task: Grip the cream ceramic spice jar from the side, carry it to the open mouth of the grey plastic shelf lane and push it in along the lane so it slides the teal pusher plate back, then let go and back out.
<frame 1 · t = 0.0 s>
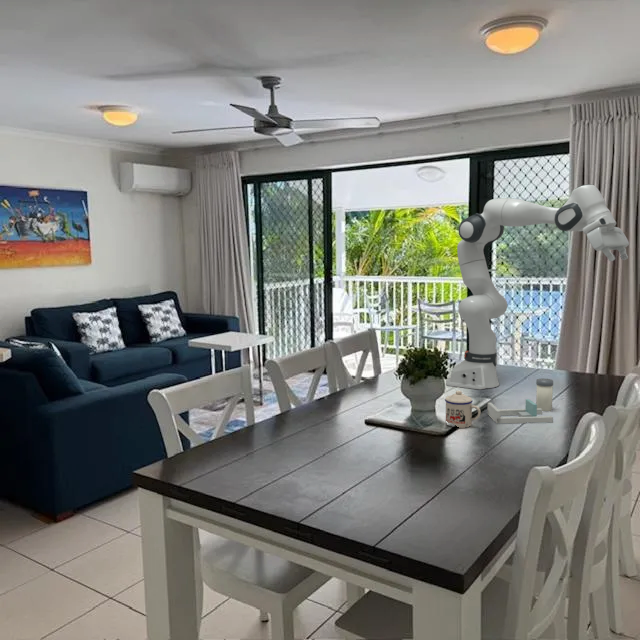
hand: (619, 259, 211), 54 cm above the table, tool tilted 30°, fingers open, 8 cm apart
pusher: (526, 409, 212), point 3 cm above the table, slide at 0.0 cm
lane: (521, 418, 212), on the table
teacup with lid: (462, 425, 206), on the table
jar: (544, 409, 222), on the table
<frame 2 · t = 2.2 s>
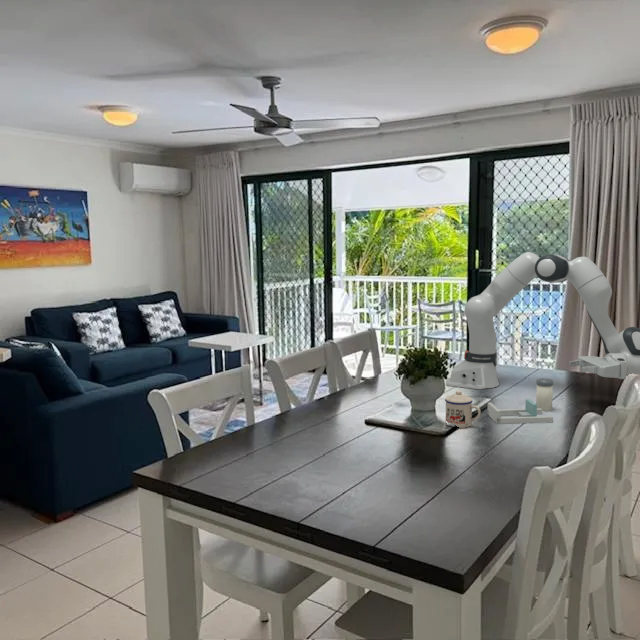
hand: (575, 366, 220), 16 cm above the table, tool horizontal, fingers open, 8 cm apart
nothing on the table moved.
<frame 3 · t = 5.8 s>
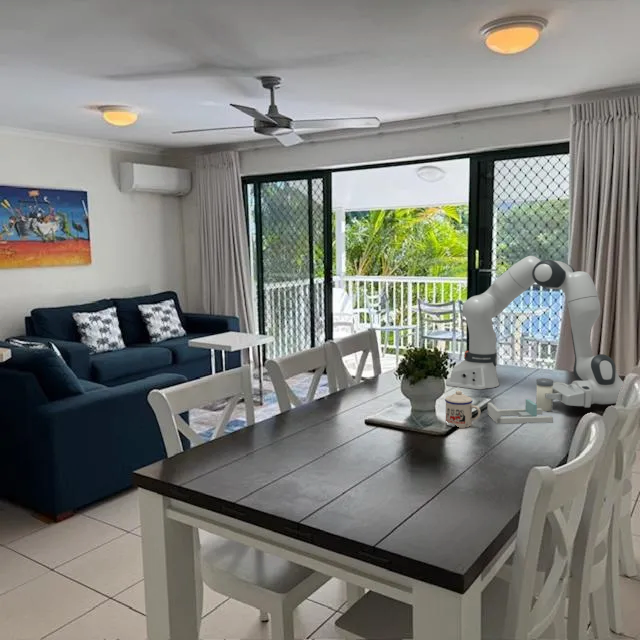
hand: (542, 393, 221), 6 cm above the table, tool horizontal, fingers closed on jar, 5 cm apart
jar: (544, 409, 222), on the table, touching gripper
everything else where it was.
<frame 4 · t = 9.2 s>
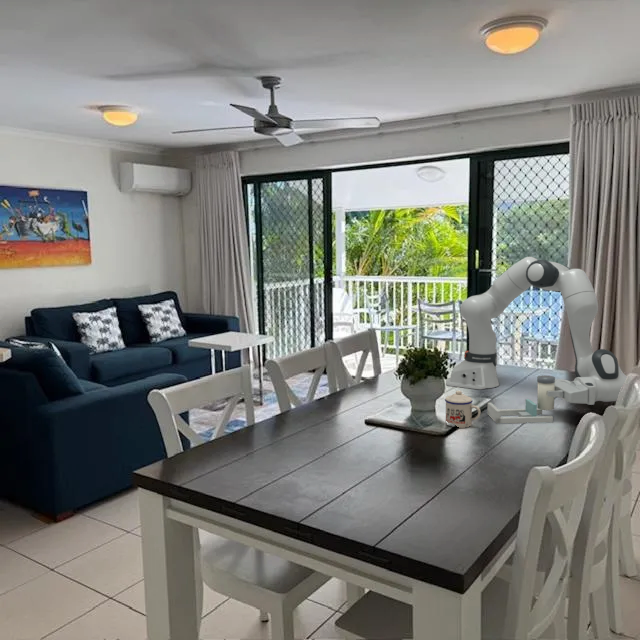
hand: (543, 391, 211), 10 cm above the table, tool horizontal, fingers closed on jar, 5 cm apart
jar: (545, 408, 211), point 4 cm above the table, touching gripper
everything else where it was.
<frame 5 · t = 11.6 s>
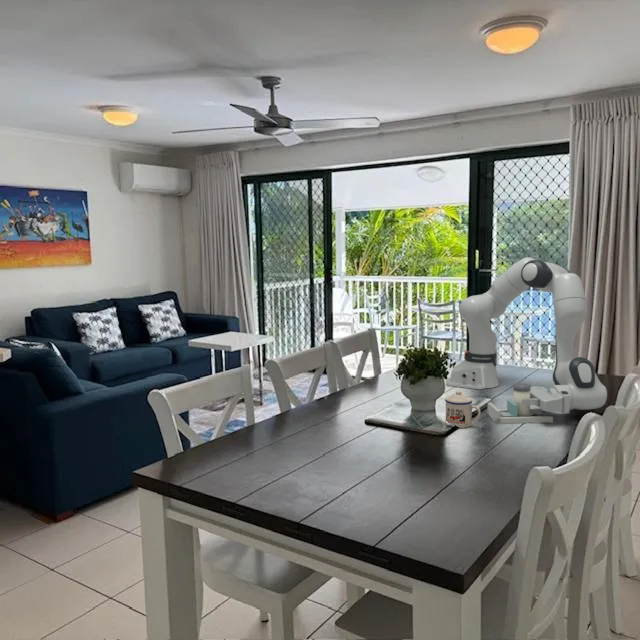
hand: (519, 398, 211), 7 cm above the table, tool horizontal, fingers closed on jar, 5 cm apart
pusher: (507, 410, 211), point 3 cm above the table, slide at 6.6 cm, touching jar
jar: (521, 415, 212), point 1 cm above the table, touching gripper, pusher
everything else where it was.
when the fingers open (7 cm above the table, at t = 12.6 s): jar stays where it is, resting in lane.
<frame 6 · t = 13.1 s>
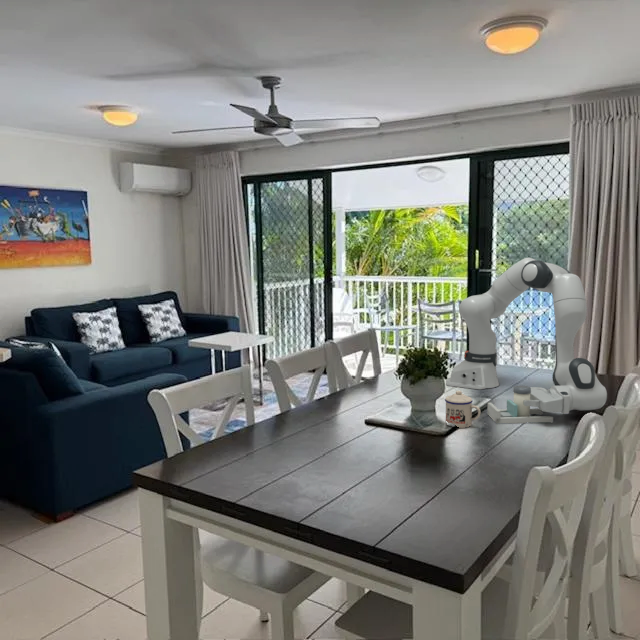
hand: (519, 399, 211), 7 cm above the table, tool horizontal, fingers open, 8 cm apart
pusher: (507, 410, 211), point 3 cm above the table, slide at 6.7 cm
jar: (521, 418, 212), resting in lane
everything else where it was.
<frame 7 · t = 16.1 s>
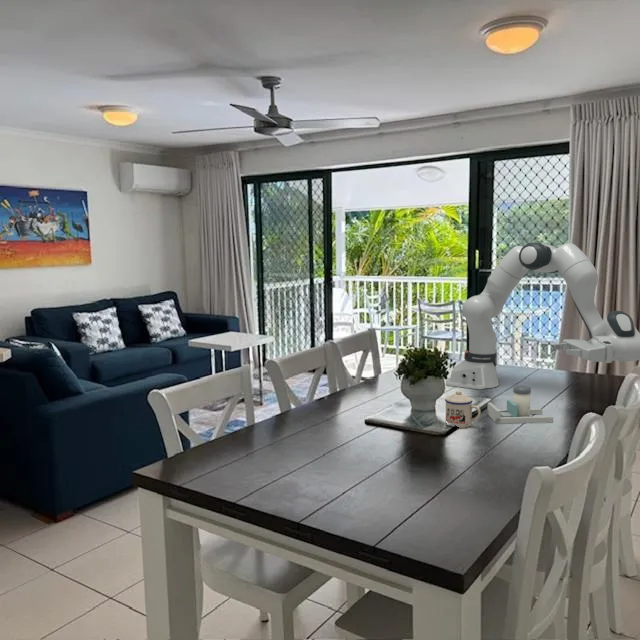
hand: (559, 349, 209), 24 cm above the table, tool horizontal, fingers open, 8 cm apart
nothing on the table moved.
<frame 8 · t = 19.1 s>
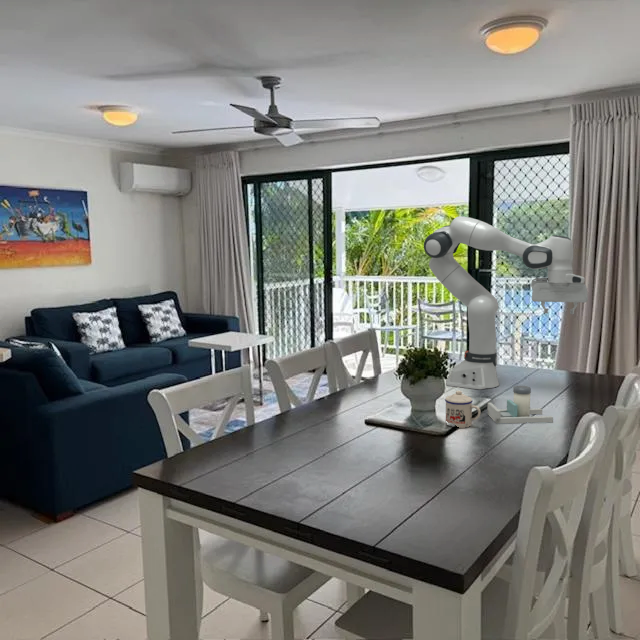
hand: (558, 313, 235), 33 cm above the table, tool pointing down, fingers open, 8 cm apart
nothing on the table moved.
at the end: jar 0.1 cm from the lane (horizontally); jar tilted 0°; pusher slide at 6.7 cm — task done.
